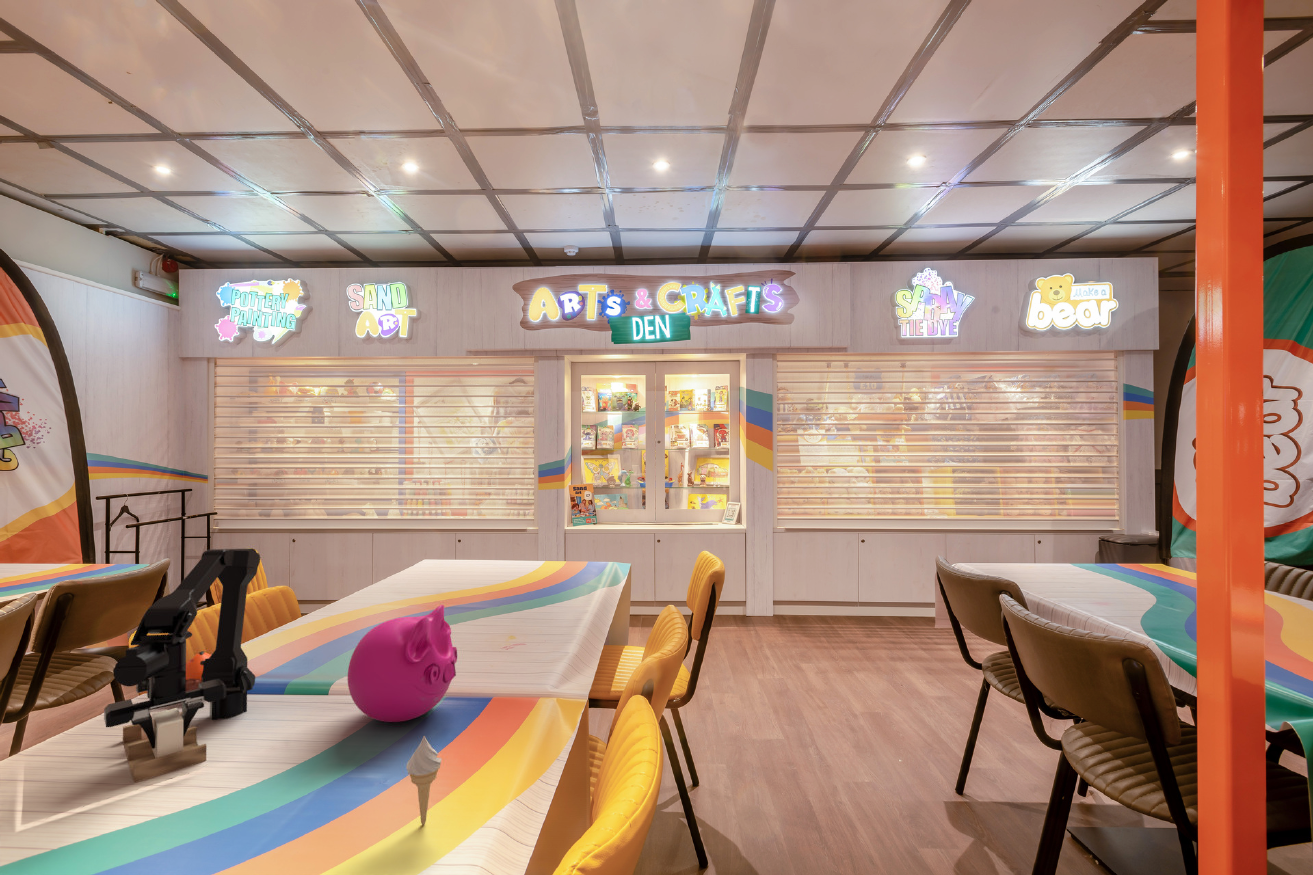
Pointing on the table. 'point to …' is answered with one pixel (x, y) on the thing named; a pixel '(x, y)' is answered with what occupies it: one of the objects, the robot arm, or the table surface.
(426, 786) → the ice cream cone
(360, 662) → the figurine
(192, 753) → the rack
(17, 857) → the table surface
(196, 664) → the orange rounded lump
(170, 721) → the cream rectangular block
